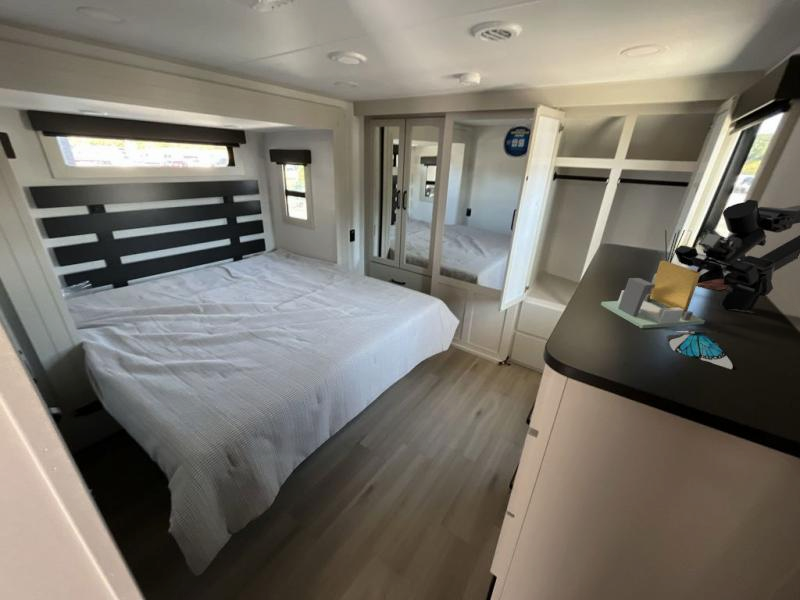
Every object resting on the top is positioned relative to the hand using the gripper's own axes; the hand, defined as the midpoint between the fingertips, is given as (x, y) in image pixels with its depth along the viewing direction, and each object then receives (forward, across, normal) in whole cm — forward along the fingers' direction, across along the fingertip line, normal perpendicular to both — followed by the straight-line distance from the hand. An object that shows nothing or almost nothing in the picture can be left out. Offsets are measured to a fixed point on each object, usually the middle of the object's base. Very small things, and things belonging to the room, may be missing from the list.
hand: (686, 284), depth 87 cm
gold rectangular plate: (+7, 0, +2) cm, 7 cm away
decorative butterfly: (+17, +18, -4) cm, 25 cm away
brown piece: (-18, -18, +32) cm, 41 cm away
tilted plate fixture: (+12, 0, 0) cm, 12 cm away
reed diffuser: (-3, -18, +16) cm, 24 cm away
